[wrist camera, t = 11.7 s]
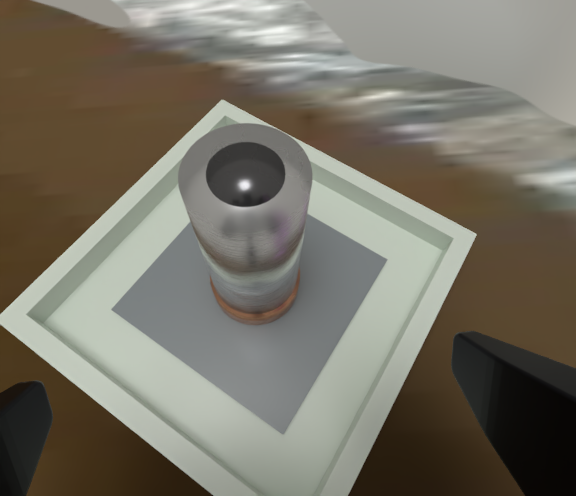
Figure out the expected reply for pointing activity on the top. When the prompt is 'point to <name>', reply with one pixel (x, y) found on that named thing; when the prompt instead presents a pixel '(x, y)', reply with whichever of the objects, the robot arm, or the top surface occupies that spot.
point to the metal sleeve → (248, 216)
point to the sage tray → (247, 328)
